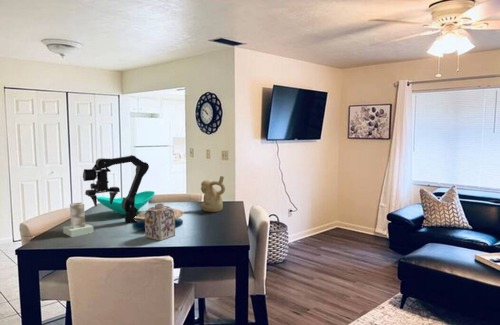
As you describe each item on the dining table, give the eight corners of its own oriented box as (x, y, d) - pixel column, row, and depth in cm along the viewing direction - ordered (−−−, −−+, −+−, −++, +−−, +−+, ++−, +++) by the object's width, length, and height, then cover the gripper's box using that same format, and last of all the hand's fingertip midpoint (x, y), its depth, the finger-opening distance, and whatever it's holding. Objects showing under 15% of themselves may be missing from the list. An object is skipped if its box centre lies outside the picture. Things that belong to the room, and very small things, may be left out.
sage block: (85, 229, 217) (84, 222, 217) (93, 233, 209) (93, 226, 208) (63, 233, 208) (63, 226, 208) (71, 237, 200) (71, 230, 200)
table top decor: (103, 221, 233) (103, 201, 232) (92, 214, 255) (91, 195, 254) (162, 212, 257) (161, 194, 256) (146, 206, 279) (146, 189, 278)
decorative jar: (160, 232, 207) (159, 201, 206) (175, 235, 202) (175, 203, 200) (144, 238, 197) (143, 205, 196) (160, 241, 191) (159, 207, 190)
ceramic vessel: (207, 207, 275) (206, 173, 273) (230, 209, 267) (230, 175, 265) (194, 211, 260) (194, 176, 257) (219, 214, 252) (218, 177, 249)
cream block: (82, 224, 213) (81, 202, 211) (85, 226, 208) (84, 204, 207) (71, 226, 209) (69, 203, 208) (73, 228, 204) (72, 205, 203)
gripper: (111, 176, 231) (112, 201, 233) (81, 179, 218) (82, 205, 219) (119, 178, 223) (120, 203, 225) (88, 181, 210) (89, 208, 211)
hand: (103, 205), depth 220 cm, fingers open, 9 cm apart
